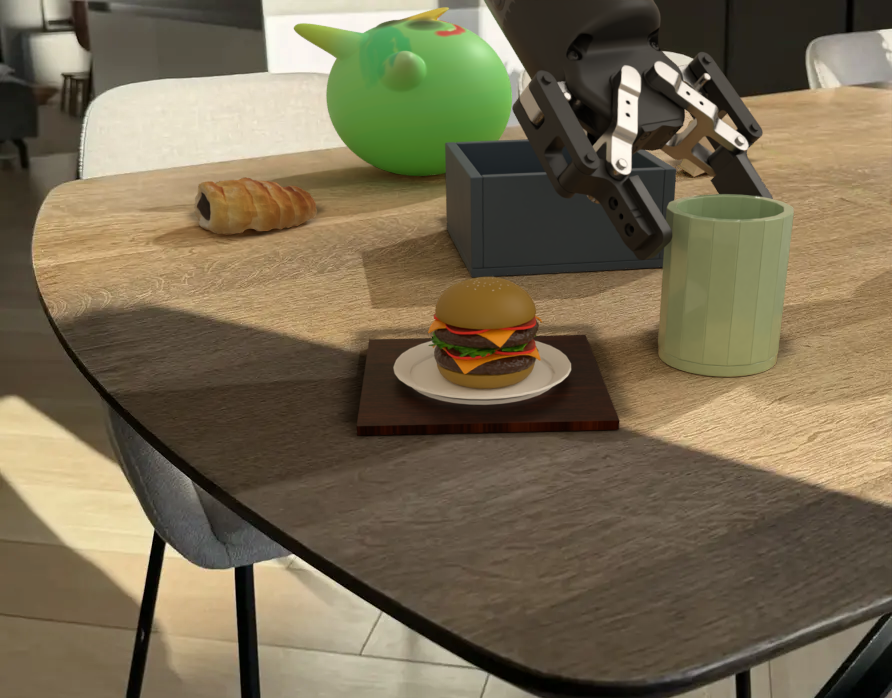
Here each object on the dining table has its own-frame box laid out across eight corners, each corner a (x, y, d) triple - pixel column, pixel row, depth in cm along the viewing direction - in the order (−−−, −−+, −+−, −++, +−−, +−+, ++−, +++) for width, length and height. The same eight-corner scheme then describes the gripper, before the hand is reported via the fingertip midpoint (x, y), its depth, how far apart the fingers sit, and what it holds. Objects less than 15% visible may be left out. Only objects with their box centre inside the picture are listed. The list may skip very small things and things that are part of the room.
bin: (617, 221, 88) (621, 135, 85) (670, 267, 75) (676, 168, 73) (446, 229, 86) (444, 142, 84) (471, 277, 74) (470, 177, 71)
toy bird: (545, 172, 106) (548, 6, 100) (416, 202, 95) (411, 18, 89) (415, 151, 118) (411, 1, 111) (287, 175, 107) (275, 11, 101)
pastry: (300, 210, 93) (296, 163, 92) (330, 227, 88) (327, 178, 86) (190, 224, 89) (184, 176, 88) (215, 242, 84) (209, 192, 82)
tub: (751, 334, 63) (765, 191, 59) (795, 373, 57) (814, 218, 54) (644, 340, 62) (652, 196, 59) (678, 380, 57) (690, 224, 53)
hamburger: (369, 347, 62) (364, 250, 60) (585, 342, 62) (588, 245, 60) (357, 435, 51) (350, 320, 49) (618, 429, 51) (624, 314, 49)
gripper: (496, -60, 54) (666, 216, 51) (686, -65, 62) (842, 172, 59) (429, 49, 60) (577, 302, 56) (611, 32, 68) (749, 252, 65)
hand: (712, 236), depth 58 cm, fingers open, 8 cm apart
